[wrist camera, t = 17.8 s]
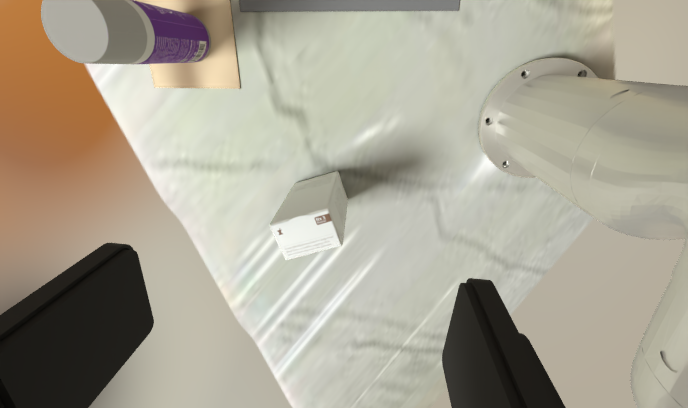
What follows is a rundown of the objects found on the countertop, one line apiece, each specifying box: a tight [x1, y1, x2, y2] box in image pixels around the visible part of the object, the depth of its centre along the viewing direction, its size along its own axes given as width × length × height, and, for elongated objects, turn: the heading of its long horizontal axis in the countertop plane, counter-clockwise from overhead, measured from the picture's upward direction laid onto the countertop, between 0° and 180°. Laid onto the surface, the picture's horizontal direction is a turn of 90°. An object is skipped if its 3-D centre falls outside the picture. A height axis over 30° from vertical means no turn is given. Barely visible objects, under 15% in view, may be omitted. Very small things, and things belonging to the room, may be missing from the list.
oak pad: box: [135, 0, 240, 88], centre depth 35 cm, size 10×10×1 cm
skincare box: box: [269, 171, 348, 260], centre depth 36 cm, size 6×4×12 cm
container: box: [41, 0, 211, 64], centre depth 28 cm, size 5×5×15 cm
